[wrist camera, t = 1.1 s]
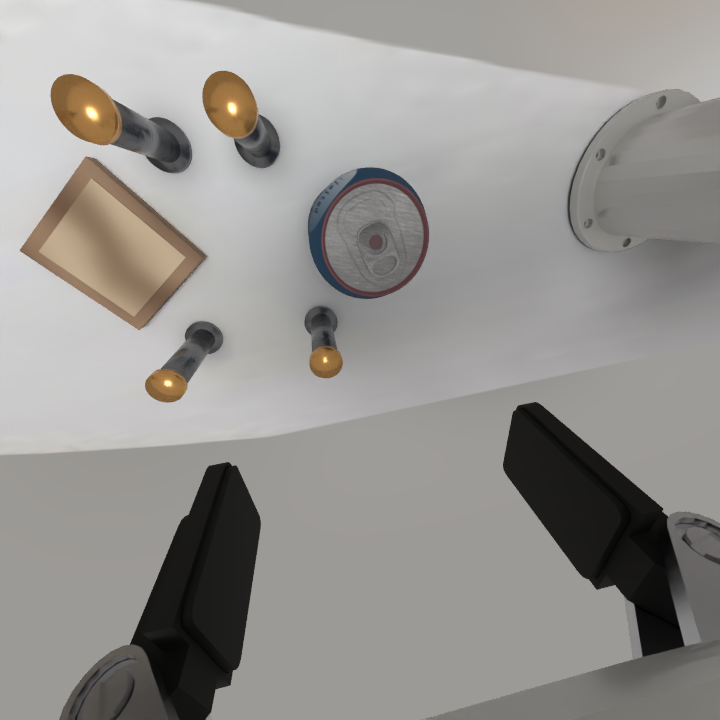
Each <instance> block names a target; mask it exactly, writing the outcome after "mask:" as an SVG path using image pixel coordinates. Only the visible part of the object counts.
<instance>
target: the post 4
mask: <svg viewBox="0 0 720 720" xmlns="http://www.w3.org/2000/svg"><path fill="white" fill-rule="evenodd" d="M305 327H306V329H307V331H308V332H309V333H310V334H311V337H312V354H311V356H310V368H311V370H312V372H313V373H314V374H315V375H316V376H318V377H321V378H330V377H333V376H335V375H337V374H338V373H339V372H340V370H341V369H342V365H343V361H342V357H341V354H340V352H339V351H338V350H337V346H336V342H335V337H334V333H333V332H334V331H335V330H336V327H337V318H336V315H335V314H334V312H333V311H332V310H331V309H329V308H327V307H323V306H319V307H315V308H313V309H311V310H310V311H309V312H308V313H307V315H306V317H305Z"/></svg>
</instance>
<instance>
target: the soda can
mask: <svg viewBox="0 0 720 720" xmlns="http://www.w3.org/2000/svg"><path fill="white" fill-rule="evenodd" d="M308 234H309V243H310V249H311V254H312V257H313V260H314V262H315V264H316V267H317V268H318V270H319V272H320V273H321V275H322V276H323V277H324V279H325V280H326V281H327V282H328V283H329V284H330V285H331V286H333V287H334V288H335V289H337V290H338V291H340V292H342V293H344V294H346V295H349V296H352V297H356V298H362V299H371V298H378V297H382V296H385V295H388V294H390V293H393V292H395V291H397V290H399V289H400V288H402V287H403V286H405V285H406V284H407V283H408V282H409V281H410V280H411V279H412V278H413V277H414V276H415V275H416V273H417V272H418V270H419V269H420V267H421V265H422V263H423V261H424V259H425V256H426V252H427V248H428V242H429V228H428V222H427V218H426V213H425V210H424V207H423V205H422V202H421V200H420V198H419V196H418V195H417V193H416V192H415V190H414V189H413V188H412V187H411V186H410V185H409V184H408V183H407V182H406V181H405V180H404V179H403V178H401V177H400V176H398V175H396V174H395V173H392V172H390V171H387V170H384V169H380V168H360V169H356V170H352V171H350V172H347V173H345V174H343V175H342V176H340V177H338V178H337V179H336V180H334V181H333V182H332V183H331V184H330V185H329V186H328V187H327V188H326V189H325V190H324V191H323V192H322V193H321V194H320V195H319V196H318V197H317V198H316V200H315V202H314V203H313V205H312V208H311V210H310V214H309V219H308Z"/></svg>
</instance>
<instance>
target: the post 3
mask: <svg viewBox="0 0 720 720" xmlns="http://www.w3.org/2000/svg"><path fill="white" fill-rule="evenodd" d="M203 104H204V108H205V111H206V113H207V115H208V117H209V119H210V120H211V122H212V123H213V124H214V125H215V126H216V127H217V128H218V129H219V130H220V131H221V132H222V133H224V134H225V135H227V136H229V137H232V138H234V141H235V145H236V148H237V150H238V152H239V154H240V155H241V157H242V158H243V159H244V160H245V161H246V162H247V163H249V164H250V165H252V166H254V167H258V168H265V167H268V166H270V165H272V164H273V163H274V162H275V161H276V159H277V157H278V155H279V150H280V142H279V137H278V134H277V132H276V130H275V128H274V126H273V125H272V124H271V123H270V121H268V120H267V119H266V118H265V117H263V116H261V115H258V108H257V103H256V100H255V98H254V96H253V94H252V92H251V90H250V88H249V87H248V85H247V84H246V83H245V82H244V80H242V79H241V78H240V77H239V76H237V75H236V74H234V73H232V72H228V71H218V72H215V73H213V74H212V75H211V76H210V77H209V78H208V79H207V80H206V82H205V85H204V88H203Z"/></svg>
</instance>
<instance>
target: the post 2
mask: <svg viewBox="0 0 720 720" xmlns="http://www.w3.org/2000/svg"><path fill="white" fill-rule="evenodd" d="M185 339H186V342H185V343H184V344H183V345H182V346H181V347H180V348H179V349H178V350H177V352H176V353H175V354H174V355H173V356H172V357H171V358H170V359H169V360H168V361H167V363H166V364H165V365H164V366H163V367H162V368H161V369H159V370H157V371H155V372H153V373H152V374H151V375H150V376H149V378H148V379H147V380H146V383H145V388H146V391H147V392H148V394H149V395H150V396H151V397H153V398H154V399H156V400H158V401H161V402H174V401H177V400H179V399H180V398H181V397H182V396H183V395H184V393H185V392H186V390H187V383H188V382H189V380H190V379H191V377H192V376H193V374H194V373H195V372H196V370H197V369H198V367H199V366H200V364H201V363H202V361H203V360H204V358H205V357H206V355H207V354H211V353H214V352H216V351H217V350H218V349H219V348H220V347H221V345H222V343H223V336H222V333H221V331H220V330H219V329H218V328H217V327H216V326H215V325H213V324H211V323H208V322H196V323H194V324H192V325H191V326H190V327H189V328H188V329H187V330H186V333H185Z"/></svg>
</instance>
